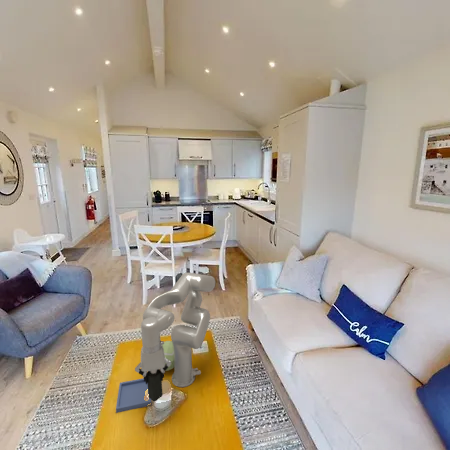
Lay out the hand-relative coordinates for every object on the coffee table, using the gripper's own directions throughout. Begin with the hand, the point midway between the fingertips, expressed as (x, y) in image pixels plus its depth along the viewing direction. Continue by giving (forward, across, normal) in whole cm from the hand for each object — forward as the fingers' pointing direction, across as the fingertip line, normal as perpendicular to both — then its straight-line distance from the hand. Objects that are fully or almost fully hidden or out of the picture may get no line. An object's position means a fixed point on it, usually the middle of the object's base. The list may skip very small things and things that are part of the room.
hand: (154, 379), depth 118 cm
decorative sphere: (+21, -6, -30) cm, 37 cm away
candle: (+9, 0, 0) cm, 9 cm away
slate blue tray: (+20, +11, -14) cm, 27 cm away
